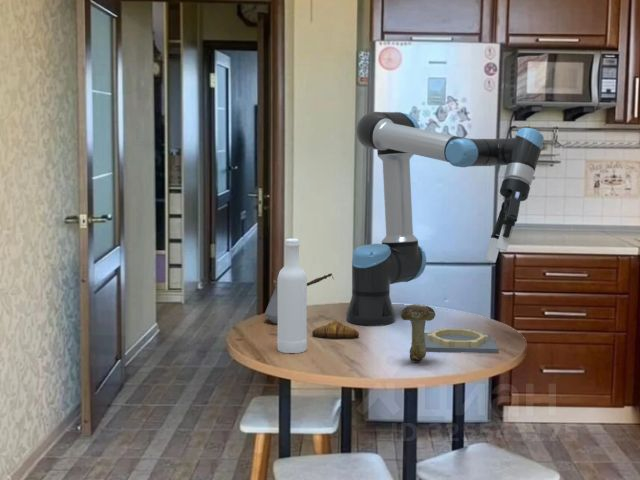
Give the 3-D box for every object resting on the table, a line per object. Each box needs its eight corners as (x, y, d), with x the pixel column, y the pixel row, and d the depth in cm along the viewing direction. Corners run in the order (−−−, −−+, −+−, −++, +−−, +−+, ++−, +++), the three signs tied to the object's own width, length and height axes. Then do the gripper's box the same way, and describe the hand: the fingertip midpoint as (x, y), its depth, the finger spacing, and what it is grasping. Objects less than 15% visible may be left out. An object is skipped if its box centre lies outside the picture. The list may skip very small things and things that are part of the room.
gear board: (422, 351, 210) (423, 341, 209) (419, 336, 226) (419, 327, 225) (498, 353, 208) (498, 343, 208) (489, 338, 224) (489, 328, 224)
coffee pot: (265, 326, 237) (265, 277, 235) (264, 317, 248) (264, 271, 246) (335, 325, 239) (336, 276, 237) (331, 316, 250) (331, 270, 248)
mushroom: (409, 368, 194) (411, 309, 192) (392, 359, 202) (393, 302, 200) (442, 364, 198) (443, 306, 196) (424, 355, 206) (425, 299, 204)
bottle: (303, 354, 206) (304, 241, 202) (274, 353, 208) (274, 240, 204) (309, 346, 214) (309, 237, 210) (280, 345, 215) (280, 236, 212)
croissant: (359, 335, 228) (360, 318, 227) (358, 341, 221) (358, 324, 220) (313, 334, 229) (313, 317, 229) (310, 340, 223) (310, 322, 222)
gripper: (542, 172, 200) (520, 248, 195) (519, 200, 224) (499, 269, 219) (514, 163, 200) (491, 239, 195) (493, 192, 224) (473, 261, 220)
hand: (495, 255), depth 207 cm, fingers open, 13 cm apart
